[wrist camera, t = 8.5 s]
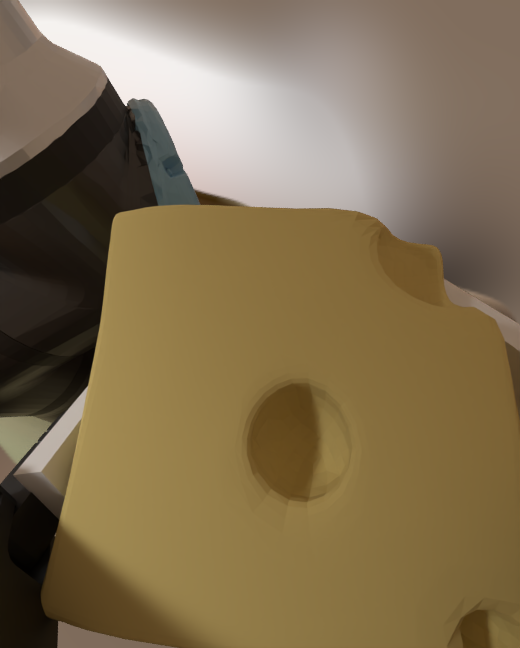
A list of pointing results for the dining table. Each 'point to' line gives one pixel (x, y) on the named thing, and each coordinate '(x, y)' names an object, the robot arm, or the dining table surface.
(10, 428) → the dining table surface
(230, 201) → the dining table surface
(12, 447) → the dining table surface
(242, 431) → the cheese
